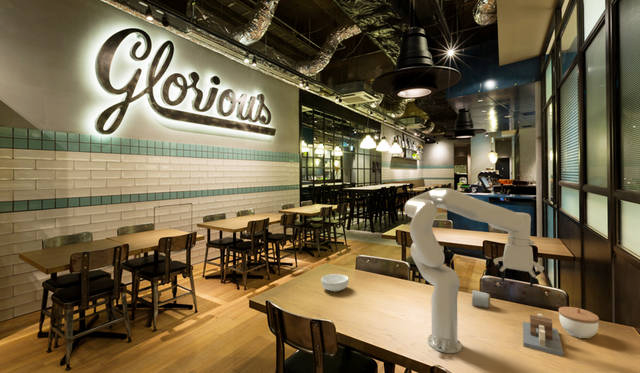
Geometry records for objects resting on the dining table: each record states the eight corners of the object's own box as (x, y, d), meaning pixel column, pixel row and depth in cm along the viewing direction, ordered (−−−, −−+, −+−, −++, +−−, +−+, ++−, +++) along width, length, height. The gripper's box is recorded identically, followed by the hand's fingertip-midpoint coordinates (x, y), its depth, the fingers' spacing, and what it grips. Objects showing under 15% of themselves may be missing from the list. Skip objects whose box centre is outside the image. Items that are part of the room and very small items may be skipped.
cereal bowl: (331, 282, 185) (331, 272, 185) (353, 288, 176) (353, 276, 175) (315, 291, 171) (315, 279, 171) (339, 297, 162) (338, 285, 162)
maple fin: (545, 346, 109) (545, 332, 109) (539, 345, 110) (539, 331, 110) (542, 326, 123) (542, 314, 123) (537, 325, 124) (537, 313, 124)
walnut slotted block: (552, 340, 113) (552, 323, 113) (530, 335, 117) (530, 318, 117) (551, 335, 116) (551, 318, 116) (530, 330, 120) (530, 314, 120)
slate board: (563, 356, 105) (563, 352, 105) (523, 346, 112) (523, 342, 112) (557, 332, 121) (557, 329, 121) (522, 324, 128) (522, 321, 128)
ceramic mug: (490, 310, 142) (490, 295, 142) (471, 307, 147) (471, 292, 146) (490, 303, 151) (490, 288, 151) (472, 300, 156) (472, 286, 156)
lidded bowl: (551, 326, 126) (551, 302, 126) (580, 326, 126) (580, 302, 126) (575, 342, 114) (575, 315, 113) (608, 342, 113) (608, 315, 113)
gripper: (544, 244, 115) (542, 285, 116) (494, 238, 126) (493, 276, 126) (545, 247, 109) (543, 291, 110) (493, 240, 120) (491, 280, 120)
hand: (516, 283), depth 118 cm, fingers open, 9 cm apart
